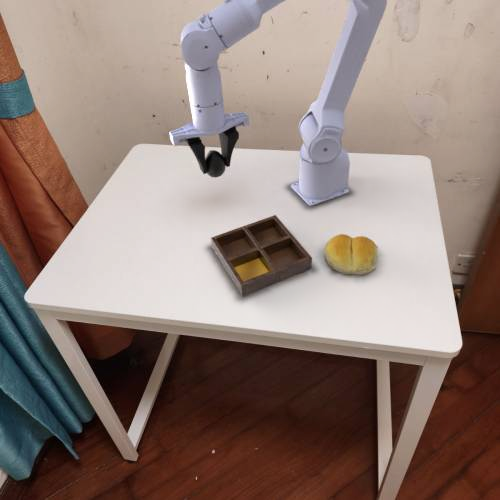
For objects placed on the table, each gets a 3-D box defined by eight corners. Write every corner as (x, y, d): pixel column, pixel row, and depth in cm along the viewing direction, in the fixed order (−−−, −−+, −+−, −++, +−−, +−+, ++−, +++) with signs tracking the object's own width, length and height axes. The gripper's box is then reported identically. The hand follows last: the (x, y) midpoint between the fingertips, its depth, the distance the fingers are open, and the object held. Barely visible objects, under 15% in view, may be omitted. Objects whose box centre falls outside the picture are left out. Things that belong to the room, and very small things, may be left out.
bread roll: (326, 240, 81) (328, 223, 78) (377, 246, 79) (380, 229, 77) (320, 272, 76) (321, 255, 73) (375, 280, 74) (378, 263, 71)
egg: (227, 167, 88) (224, 144, 84) (225, 179, 85) (223, 156, 82) (206, 168, 88) (203, 145, 85) (204, 180, 85) (201, 157, 82)
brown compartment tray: (275, 225, 85) (275, 214, 83) (311, 268, 76) (312, 257, 75) (212, 248, 81) (210, 237, 80) (242, 296, 73) (241, 285, 71)
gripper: (235, 81, 81) (241, 147, 90) (159, 101, 77) (173, 168, 86) (252, 96, 76) (256, 164, 85) (171, 117, 72) (184, 186, 82)
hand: (215, 167), depth 86 cm, fingers closed on egg, 4 cm apart
